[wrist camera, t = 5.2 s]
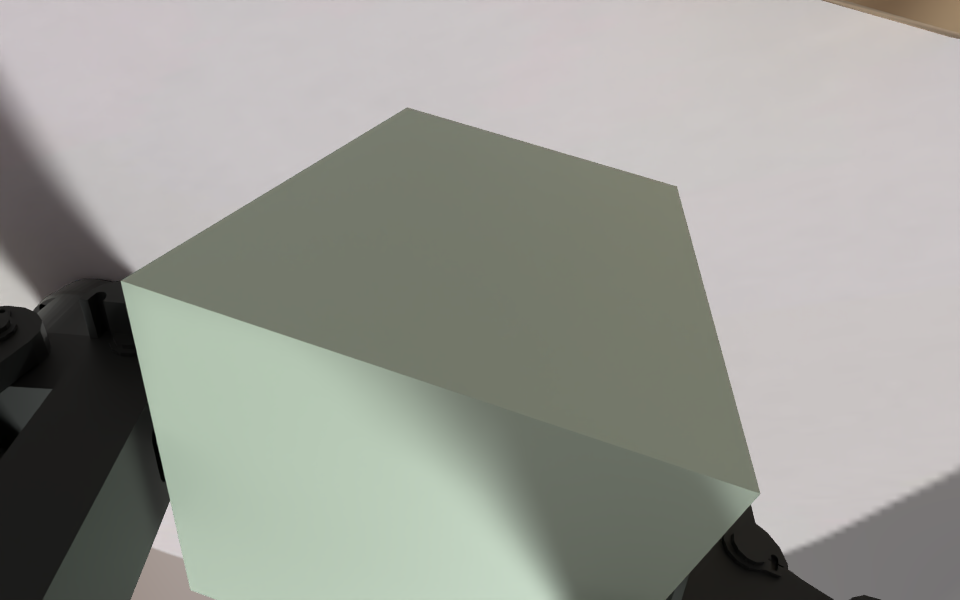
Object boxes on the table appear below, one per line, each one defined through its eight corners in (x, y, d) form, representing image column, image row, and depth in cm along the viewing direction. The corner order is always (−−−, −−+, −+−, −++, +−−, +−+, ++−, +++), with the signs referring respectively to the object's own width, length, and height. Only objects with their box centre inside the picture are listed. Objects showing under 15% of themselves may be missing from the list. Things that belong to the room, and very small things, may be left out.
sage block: (379, 321, 17) (190, 589, 9) (407, 107, 13) (121, 280, 6) (583, 387, 16) (552, 726, 9) (676, 186, 12) (759, 493, 5)
